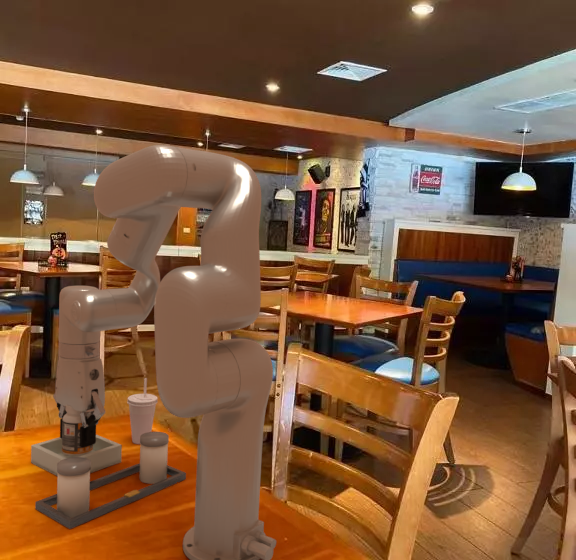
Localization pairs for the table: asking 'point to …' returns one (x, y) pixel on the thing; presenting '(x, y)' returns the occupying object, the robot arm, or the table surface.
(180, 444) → the table surface
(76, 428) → the pill bottle
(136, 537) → the table surface
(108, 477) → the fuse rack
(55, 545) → the table surface
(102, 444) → the tray
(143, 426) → the smoothie
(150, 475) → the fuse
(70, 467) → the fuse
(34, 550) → the table surface
